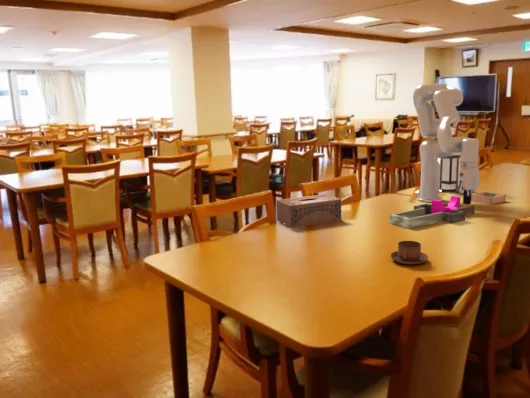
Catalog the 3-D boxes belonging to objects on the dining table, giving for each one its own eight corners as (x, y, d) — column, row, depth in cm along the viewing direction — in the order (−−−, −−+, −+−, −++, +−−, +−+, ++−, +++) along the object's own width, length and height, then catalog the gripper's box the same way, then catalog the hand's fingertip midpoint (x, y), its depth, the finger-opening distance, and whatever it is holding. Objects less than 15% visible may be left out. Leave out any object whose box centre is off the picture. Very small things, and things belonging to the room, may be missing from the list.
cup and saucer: (430, 268, 154) (430, 249, 153) (391, 266, 156) (391, 248, 155) (425, 256, 165) (425, 239, 164) (389, 255, 168) (390, 238, 167)
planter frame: (470, 200, 247) (470, 194, 246) (484, 197, 252) (485, 191, 252) (490, 204, 237) (490, 197, 236) (505, 201, 243) (505, 194, 242)
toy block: (442, 218, 214) (443, 202, 213) (431, 215, 220) (431, 200, 218) (464, 213, 222) (465, 197, 220) (453, 211, 227) (453, 195, 225)
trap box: (381, 221, 213) (381, 212, 212) (445, 207, 233) (445, 199, 232) (418, 231, 195) (419, 221, 194) (484, 216, 215) (484, 207, 214)
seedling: (487, 211, 242) (486, 203, 246) (499, 204, 237) (498, 196, 241) (479, 204, 240) (478, 197, 244) (491, 197, 235) (490, 190, 239)
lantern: (426, 190, 278) (428, 138, 272) (447, 187, 285) (449, 136, 279) (449, 194, 263) (452, 140, 257) (470, 191, 269) (473, 138, 263)
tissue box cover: (290, 228, 208) (289, 205, 206) (277, 221, 221) (276, 199, 219) (341, 220, 218) (341, 199, 215) (325, 214, 231) (325, 194, 229)
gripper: (465, 167, 214) (463, 207, 217) (486, 164, 221) (484, 203, 225) (451, 166, 220) (449, 204, 224) (472, 162, 227) (470, 200, 231)
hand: (466, 203), depth 224 cm, fingers closed
